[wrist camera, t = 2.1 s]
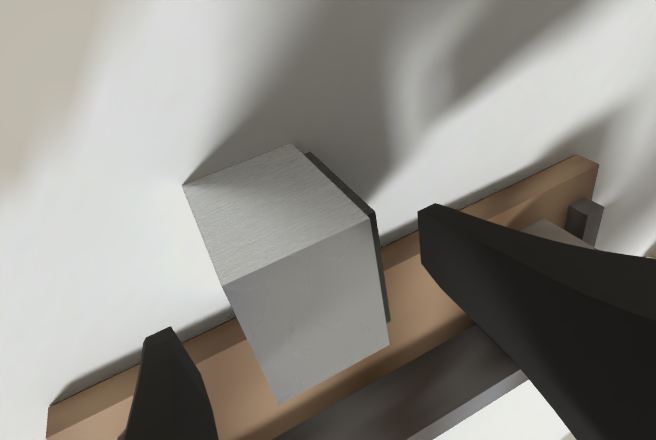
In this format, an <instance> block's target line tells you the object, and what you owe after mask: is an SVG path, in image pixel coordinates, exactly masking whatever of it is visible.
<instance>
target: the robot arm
mask: <svg viewBox="0 0 656 440" xmlns="http://www.w3.org/2000/svg"><path fill="white" fill-rule="evenodd" d="M418 226H419V242H420V257H421V264H422V265H423V267H424V268H425V269H426V270H427V272H428V273H429V274H430V276H431V277H432V278H433V279H434V281H435V282H436V283H437V284H438V286H439V287H440V288H441V289H442V290H443V291H444V292H445V293H446V294H447V295H448V296H449V297H450V298H451V299H452V300H453V301H454V302H455V303H456V304H457V305H458V306H459V307H460V308H461V309H462V310H463V311H464V312H465V313H466V314H467V315H468V316H469V317H470V318H471V319H472V320H474V321H475V322H476V323H477V324H478V325H479V326H480V327H481V328H482V329H483V330H484V331H485V332H486V333H487V334H488V335H489V336H490V337H491V338H492V339H493V340H494V341H495V342H496V343H497V344H498V345H499V346H500V347H501V348H502V349H503V350H504V351H505V352H506V353H507V354H508V355H509V356H510V357H511V359H512V360H513V361H514V362H515V363H516V364H517V366H518V367H519V368H520V369H521V370H522V371H523V373H524V374H525V375H526V376H527V377H528V379H529V380H530V381H531V382H532V383H533V385H534V386H535V387H536V388H537V389H538V391H539V392H540V393H541V394H542V396H543V397H544V398H545V399H546V401H547V402H548V403H549V404H550V406H551V407H552V408H553V409H554V410H555V412H556V413H557V414H558V416H559V417H560V418H561V420H562V421H563V422H564V424H565V425H566V426H567V428H568V429H569V430H570V431H571V433H572V434H573V435H574V437H575V438H576V439H577V440H656V259H655V258H646V257H638V256H631V255H625V254H618V253H611V252H605V251H600V250H594V249H589V248H585V247H580V246H575V245H570V244H566V243H562V242H557V241H553V240H550V239H546V238H542V237H539V236H535V235H531V234H528V233H524V232H521V231H518V230H514V229H511V228H508V227H505V226H502V225H499V224H496V223H493V222H490V221H487V220H484V219H481V218H478V217H475V216H472V215H469V214H466V213H464V212H461V211H458V210H455V209H452V208H449V207H446V206H443V205H439V204H436V203H435V204H433V205H430V206H428V207H426V208H424V209H422V210H420V211H418ZM122 440H219V438H218V433H217V429H216V424H215V419H214V414H213V410H212V406H211V403H210V400H209V397H208V394H207V391H206V388H205V385H204V382H203V379H202V376H201V373H200V372H199V370H198V368H197V367H196V365H195V364H194V362H193V361H192V359H191V357H190V356H189V354H188V353H187V351H186V350H185V348H184V346H183V345H182V343H181V342H180V340H179V339H178V337H177V335H176V334H175V332H174V331H173V329H172V328H171V326H170V327H168V328H166V329H164V330H161V331H159V332H157V333H155V334H153V335H151V336H149V337H146V339H145V341H144V343H143V349H142V356H141V362H140V367H139V373H138V378H137V383H136V387H135V392H134V396H133V401H132V405H131V409H130V413H129V417H128V421H127V425H126V429H125V433H124V436H123V439H122Z"/></svg>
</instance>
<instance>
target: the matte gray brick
mask: <svg viewBox="0 0 656 440" xmlns="http://www.w3.org/2000/svg"><path fill="white" fill-rule="evenodd" d="M182 188H183V190H184V193H185V195H186V198H187V200H188V203H189V205H190V208H191V210H192V213H193V215H194V218H195V220H196V223H197V225H198V228H199V230H200V233H201V236H202V238H203V241H204V243H205V246H206V248H207V251H208V253H209V256H210V258H211V261H212V263H213V266H214V268H215V271H216V273H217V276H218V278H219V281H220V283H221V286H222V288H223V290H224V292H225V294H226V296H227V298H228V300H229V302H230V305H231V307H232V309H233V311H234V313H235V315H236V317H237V319H238V321H239V323H240V325H241V328H242V330H243V332H244V334H245V336H246V338H247V340H248V342H249V344H250V346H251V348H252V351H253V353H254V355H255V357H256V359H257V361H258V363H259V365H260V367H261V369H262V371H263V374H264V376H265V378H266V380H267V382H268V384H269V386H270V388H271V390H272V392H273V394H274V396H275V399H276V401H277V403H278V405H281V404H283V403H284V402H286V401H288V400H290V399H292V398H294V397H295V396H297V395H299V394H301V393H303V392H304V391H306V390H308V389H310V388H312V387H314V386H315V385H317V384H319V383H321V382H323V381H325V380H326V379H328V378H330V377H332V376H334V375H335V374H337V373H339V372H341V371H343V370H345V369H346V368H348V367H350V366H352V365H354V364H356V363H357V362H359V361H361V360H363V359H365V358H366V357H368V356H370V355H372V354H374V353H376V352H377V351H379V350H381V349H383V348H385V347H387V346H388V345H390V344H389V338H388V331H387V325H386V323H388V322H390V321H391V317H390V310H389V304H388V297H387V290H386V283H385V276H384V269H383V262H382V256H381V249H380V242H379V235H378V228H377V221H376V214H375V211H374V210H373V209H372V208H371V207H370V206H368V205H367V204H366V203H365V202H364V201H363V200H362V199H361V198H360V197H359V196H358V195H356V194H355V193H354V192H353V191H352V190H351V189H350V188H349V187H348V186H347V185H346V184H345V183H343V182H342V181H341V180H340V179H339V178H338V177H337V176H336V175H335V174H334V173H333V172H332V171H330V170H329V169H328V168H327V167H326V166H325V165H324V164H323V163H322V162H321V161H320V160H319V159H317V158H316V157H315V156H314V155H313V154H312V153H311V152H309V153H306V154H304V155H303V154H302V153H301V152H300V151H299V150H298V149H297V148H296V147H295V146H294V145H293V144H292V143H290V144H288V145H285V146H282V147H280V148H277V149H275V150H272V151H269V152H267V153H264V154H262V155H259V156H257V157H254V158H251V159H249V160H246V161H244V162H241V163H238V164H236V165H233V166H231V167H228V168H225V169H223V170H220V171H218V172H215V173H213V174H210V175H207V176H205V177H202V178H200V179H197V180H194V181H192V182H189V183H187V184H184V185H182Z"/></svg>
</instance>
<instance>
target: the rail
mask: <svg viewBox="0 0 656 440" xmlns="http://www.w3.org/2000/svg"><path fill="white" fill-rule="evenodd" d="M598 168H599V164H597V163H595V162H592V161H590V160H588V159H585V158H583V157H581V156H578V155H575V156H573V157H571V158H568V159H566V160H564V161H562V162H560V163H558V164H556V165H554V166H552V167H550V168H548V169H546V170H543V171H541V172H539V173H537V174H535V175H533V176H531V177H529V178H527V179H525V180H523V181H520V182H518V183H516V184H514V185H512V186H510V187H508V188H506V189H504V190H502V191H500V192H497V193H495V194H493V195H491V196H489V197H487V198H485V199H483V200H481V201H479V202H477V203H475V204H472V205H470V206H468V207H466V208H464V209H462V210H460V211H461V212H464V213H466V214H469V215H472V216H475V217H478V218H481V219H484V220H487V221H490V222H493V223H496V224H499V225H502V226H505V227H508V228H511V229H514V230H518V231H521V232H524V233H528V234H531V235H535V236H539V237H542V238H546V239H550V240H553V241H557V242H562V243H566V244H570V245H575V246H580V247H585V248H589V249H594V250H597V249H595V248H594V245H595V241H596V237H597V233H598V229H599V226H600V222H601V218H602V214H603V210H604V207H603V206H601V205H599V204H597V203H595V202H593V201H591V198H592V194H593V190H594V185H595V181H596V177H597V172H598ZM381 256H382V262H383V269H384V276H385V283H386V290H387V297H388V304H389V310H390V317H391V321H390V322H388V323H386V325H387V331H388V338H389V344H390V345H388V346H387V347H385V348H383V349H381V350H379V351H377V352H376V353H374V354H372V355H370V356H368V357H366V358H365V359H363V360H361V361H359V362H357V363H356V364H354V365H352V366H350V367H348V368H346V369H345V370H343V371H341V372H339V373H337V374H335V375H334V376H332V377H330V378H328V379H326V380H325V381H323V382H321V383H319V384H317V385H315V386H314V387H312V388H310V389H308V390H306V391H304V392H303V393H301V394H299V395H297V396H295V397H294V398H292V399H290V400H288V401H286V402H284V403H283V404H281V405H278V403H277V401H276V399H275V396H274V394H273V392H272V390H271V388H270V386H269V384H268V382H267V380H266V378H265V376H264V374H263V371H262V369H261V367H260V365H259V363H258V361H257V359H256V357H255V355H254V353H253V351H252V348H251V346H250V344H249V342H248V340H247V338H246V336H245V334H244V332H243V330H242V328H241V325H240V323H239V321H238V319H237V318H234V319H232V320H230V321H228V322H226V323H224V324H222V325H220V326H218V327H216V328H214V329H211V330H209V331H207V332H205V333H203V334H201V335H199V336H197V337H195V338H193V339H191V340H189V341H186V342H184V343H182V345H183V346H184V348H185V350H186V351H187V353H188V354H189V356H190V357H191V359H192V361H193V362H194V364H195V365H196V367H197V368H198V370H199V372H200V373H201V376H202V379H203V382H204V385H205V388H206V391H207V394H208V397H209V400H210V403H211V406H212V410H213V414H214V419H215V424H216V429H217V433H218V438H219V440H433V439H434V438H436V437H438V436H439V435H441V434H442V433H444V432H446V431H447V430H449V429H450V428H452V427H454V426H455V425H457V424H458V423H460V422H461V421H463V420H465V419H466V418H468V417H469V416H471V415H473V414H474V413H476V412H477V411H479V410H481V409H482V408H484V407H485V406H487V405H489V404H490V403H492V402H493V401H495V400H497V399H498V398H500V397H501V396H503V395H504V394H506V393H508V392H509V391H511V390H512V389H514V388H516V387H517V386H519V385H520V384H522V383H524V382H525V381H527V380H528V377H527V376H526V375H525V374H524V373H523V371H522V370H521V369H520V368H519V367H518V366H517V364H516V363H515V362H514V361H513V360H512V359H511V357H510V356H509V355H508V354H507V353H506V352H505V351H504V350H503V349H502V348H501V347H500V346H499V345H498V344H497V343H496V342H495V341H494V340H493V339H492V338H491V337H490V336H489V335H488V334H487V333H486V332H485V331H484V330H483V329H482V328H481V327H480V326H479V325H478V324H477V323H476V322H475V321H474V320H472V319H471V318H470V317H469V316H468V315H467V314H466V313H465V312H464V311H463V310H462V309H461V308H460V307H459V306H458V305H457V304H456V303H455V302H454V301H453V300H452V299H451V298H450V297H449V296H448V295H447V294H446V293H445V292H444V291H443V290H442V289H441V288H440V287H439V286H438V284H437V283H436V282H435V281H434V279H433V278H432V277H431V276H430V274H429V273H428V272H427V270H426V269H425V268H424V267H423V265H422V264H421V257H420V242H419V230H418V231H416V232H414V233H412V234H410V235H408V236H406V237H404V238H401V239H399V240H397V241H395V242H393V243H391V244H389V245H387V246H385V247H383V248H381ZM139 367H140V364H138V365H136V366H134V367H132V368H130V369H128V370H126V371H124V372H122V373H120V374H118V375H115V376H113V377H111V378H109V379H107V380H105V381H103V382H101V383H99V384H97V385H95V386H92V387H90V388H88V389H86V390H84V391H82V392H80V393H78V394H76V395H74V396H72V397H70V398H67V399H65V400H63V401H61V402H59V403H57V404H55V405H53V406H51V407H49V408H48V419H47V431H46V439H47V440H122V439H123V436H124V433H125V429H126V425H127V421H128V417H129V413H130V409H131V405H132V401H133V396H134V392H135V387H136V383H137V378H138V373H139Z"/></svg>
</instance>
